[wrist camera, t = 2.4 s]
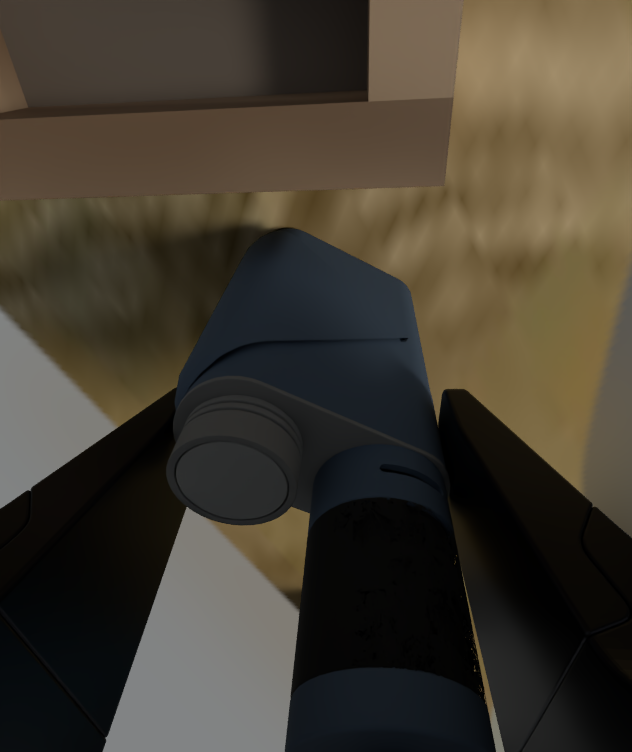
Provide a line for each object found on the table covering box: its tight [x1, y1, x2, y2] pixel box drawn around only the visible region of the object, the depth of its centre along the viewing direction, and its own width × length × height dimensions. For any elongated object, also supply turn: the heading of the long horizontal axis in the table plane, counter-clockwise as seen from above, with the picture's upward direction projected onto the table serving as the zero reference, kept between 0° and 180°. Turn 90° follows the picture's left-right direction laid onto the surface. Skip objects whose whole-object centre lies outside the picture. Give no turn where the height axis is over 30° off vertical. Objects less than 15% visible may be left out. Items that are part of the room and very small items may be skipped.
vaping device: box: [166, 229, 496, 752], centre depth 9 cm, size 3×5×12 cm, turn 64°
